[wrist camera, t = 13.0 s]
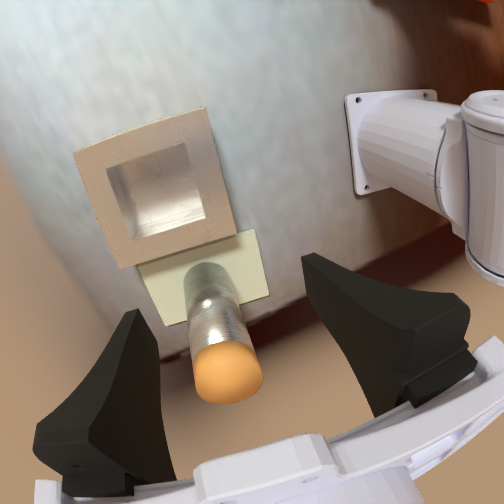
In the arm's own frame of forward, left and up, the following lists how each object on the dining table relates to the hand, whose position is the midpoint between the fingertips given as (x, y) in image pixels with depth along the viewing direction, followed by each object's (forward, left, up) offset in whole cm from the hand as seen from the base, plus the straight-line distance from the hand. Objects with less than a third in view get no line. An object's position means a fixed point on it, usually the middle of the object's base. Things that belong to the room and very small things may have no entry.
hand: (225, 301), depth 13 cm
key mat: (+1, +5, -10) cm, 12 cm away
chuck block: (+2, -3, -10) cm, 11 cm away
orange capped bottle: (+1, +5, -10) cm, 11 cm away
